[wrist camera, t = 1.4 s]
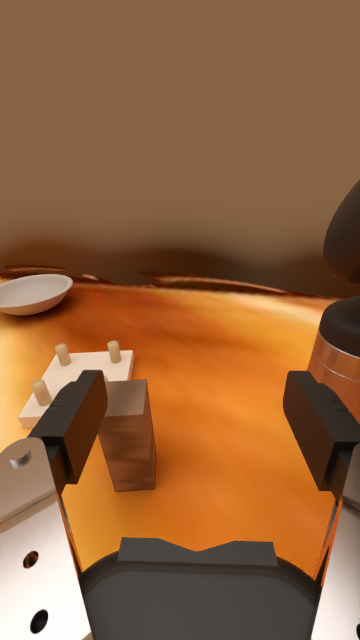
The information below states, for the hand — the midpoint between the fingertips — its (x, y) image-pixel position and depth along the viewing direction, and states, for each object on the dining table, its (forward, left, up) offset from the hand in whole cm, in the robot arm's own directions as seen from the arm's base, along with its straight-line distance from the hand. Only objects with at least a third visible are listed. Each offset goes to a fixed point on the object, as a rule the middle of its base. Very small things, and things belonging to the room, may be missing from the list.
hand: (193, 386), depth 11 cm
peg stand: (+18, -28, -27) cm, 43 cm away
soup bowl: (+43, -64, -27) cm, 82 cm away
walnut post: (+7, -12, -27) cm, 30 cm away
